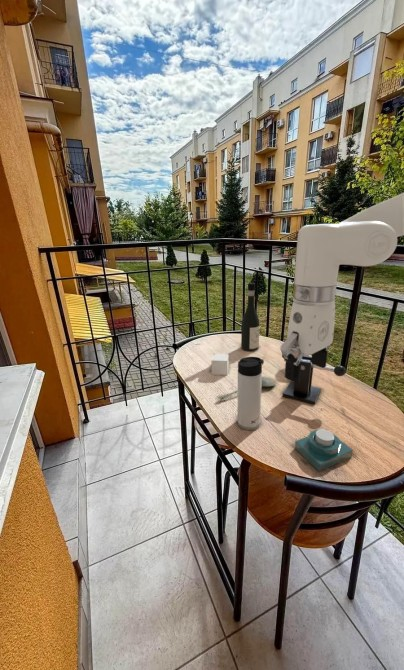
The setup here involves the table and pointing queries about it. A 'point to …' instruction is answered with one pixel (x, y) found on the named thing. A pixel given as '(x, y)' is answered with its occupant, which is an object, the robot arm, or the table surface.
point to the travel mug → (249, 392)
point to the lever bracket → (303, 385)
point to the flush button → (324, 437)
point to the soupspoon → (264, 383)
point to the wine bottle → (250, 324)
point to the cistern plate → (322, 451)
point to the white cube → (220, 364)
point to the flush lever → (330, 368)
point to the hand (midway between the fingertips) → (305, 372)
